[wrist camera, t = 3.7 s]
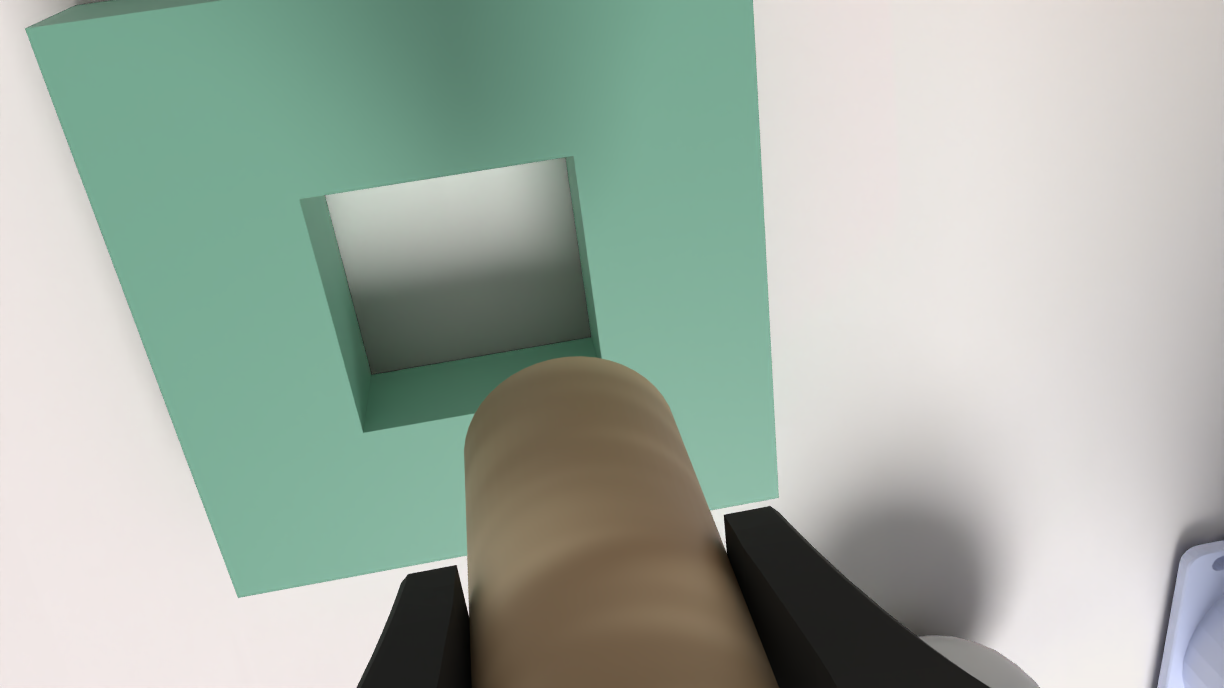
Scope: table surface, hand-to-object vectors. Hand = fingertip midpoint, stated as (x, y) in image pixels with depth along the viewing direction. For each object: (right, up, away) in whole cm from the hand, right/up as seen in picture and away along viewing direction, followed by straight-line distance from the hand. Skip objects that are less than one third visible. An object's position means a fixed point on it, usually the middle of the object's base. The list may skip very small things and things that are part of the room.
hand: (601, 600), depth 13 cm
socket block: (-3, +5, +9) cm, 11 cm away
